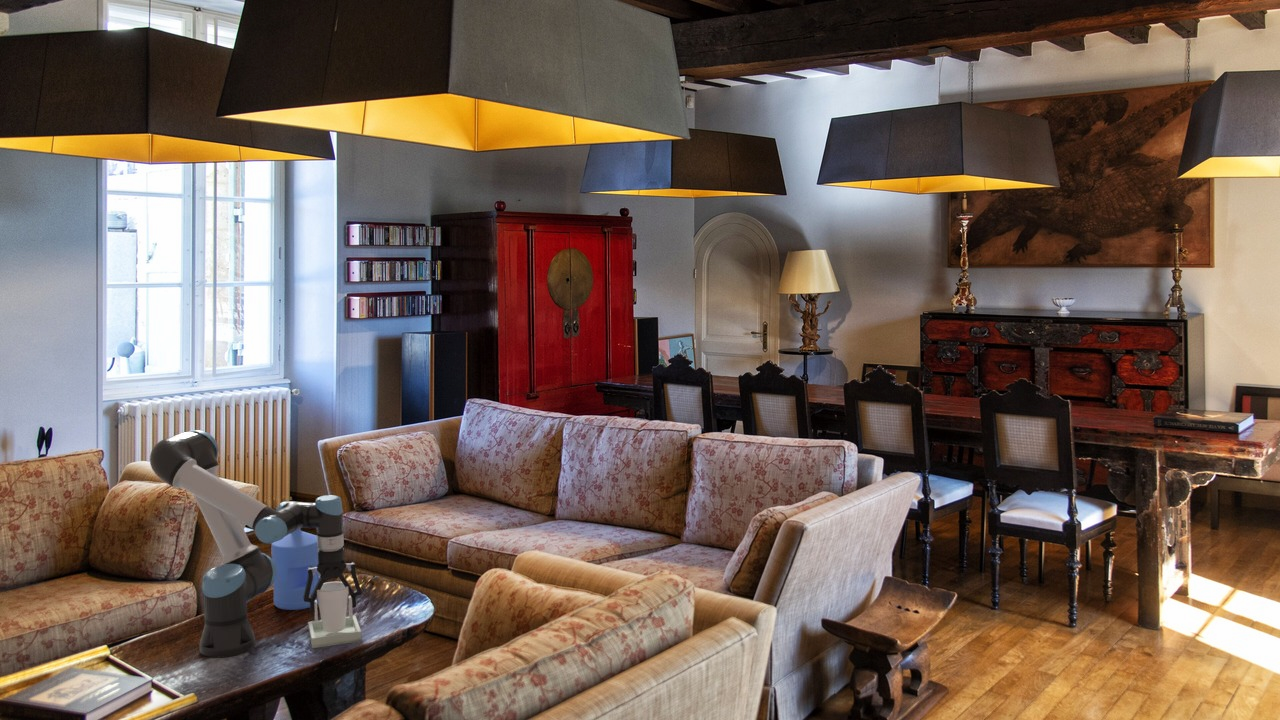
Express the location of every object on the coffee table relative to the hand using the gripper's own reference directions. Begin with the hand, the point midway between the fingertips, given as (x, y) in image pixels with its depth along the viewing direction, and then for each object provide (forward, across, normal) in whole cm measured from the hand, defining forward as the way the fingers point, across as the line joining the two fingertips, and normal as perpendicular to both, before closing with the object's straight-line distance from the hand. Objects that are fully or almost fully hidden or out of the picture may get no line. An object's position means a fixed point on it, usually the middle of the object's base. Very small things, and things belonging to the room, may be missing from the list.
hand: (333, 620), depth 318 cm
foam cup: (+3, 0, 0) cm, 3 cm away
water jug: (+5, -8, +34) cm, 35 cm away
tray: (+5, 0, 0) cm, 5 cm away
